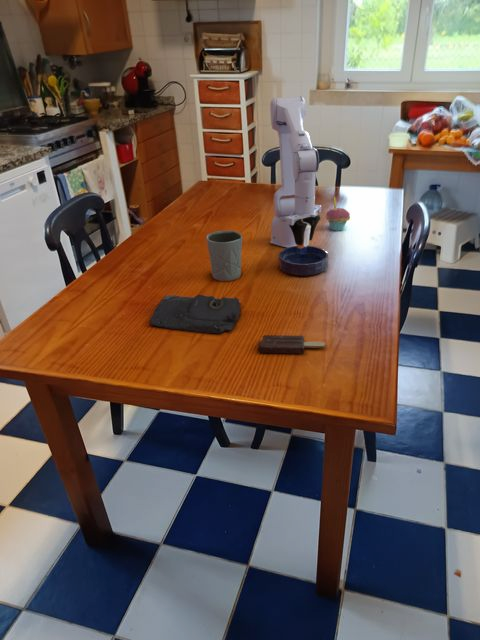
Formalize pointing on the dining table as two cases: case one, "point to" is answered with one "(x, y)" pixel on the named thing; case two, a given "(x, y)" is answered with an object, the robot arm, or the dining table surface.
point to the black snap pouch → (196, 313)
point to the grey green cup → (225, 254)
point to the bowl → (303, 261)
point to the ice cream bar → (286, 344)
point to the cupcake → (337, 217)
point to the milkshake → (305, 241)
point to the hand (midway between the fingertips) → (303, 242)
